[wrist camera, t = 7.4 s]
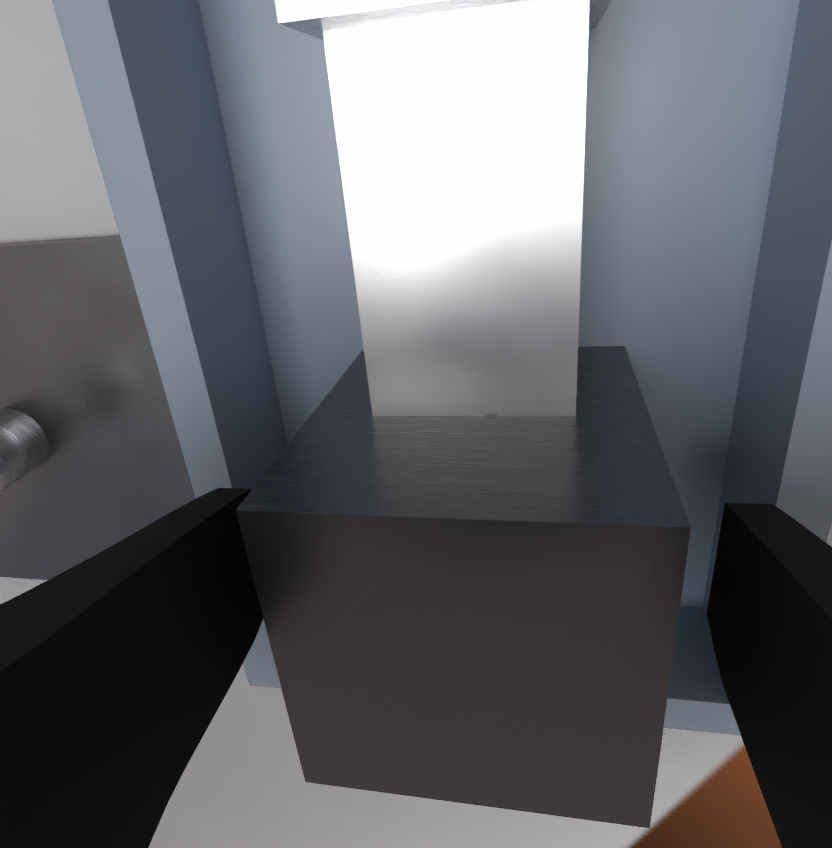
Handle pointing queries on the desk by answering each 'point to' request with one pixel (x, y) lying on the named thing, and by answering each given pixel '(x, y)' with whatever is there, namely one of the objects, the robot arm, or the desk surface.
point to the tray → (600, 251)
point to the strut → (471, 443)
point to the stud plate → (78, 408)
